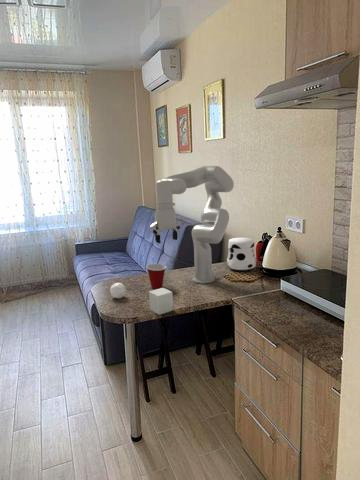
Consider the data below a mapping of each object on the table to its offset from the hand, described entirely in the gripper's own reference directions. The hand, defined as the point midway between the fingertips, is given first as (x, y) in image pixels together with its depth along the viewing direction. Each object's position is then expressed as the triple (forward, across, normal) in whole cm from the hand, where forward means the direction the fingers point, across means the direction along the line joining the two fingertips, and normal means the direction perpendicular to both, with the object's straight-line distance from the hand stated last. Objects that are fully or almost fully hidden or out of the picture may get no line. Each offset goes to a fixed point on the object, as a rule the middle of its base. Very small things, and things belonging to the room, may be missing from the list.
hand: (166, 241), depth 179 cm
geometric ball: (+28, +21, -15) cm, 38 cm away
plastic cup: (+28, -2, -15) cm, 32 cm away
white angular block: (+28, +12, +12) cm, 33 cm away
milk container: (+29, -59, -10) cm, 66 cm away
